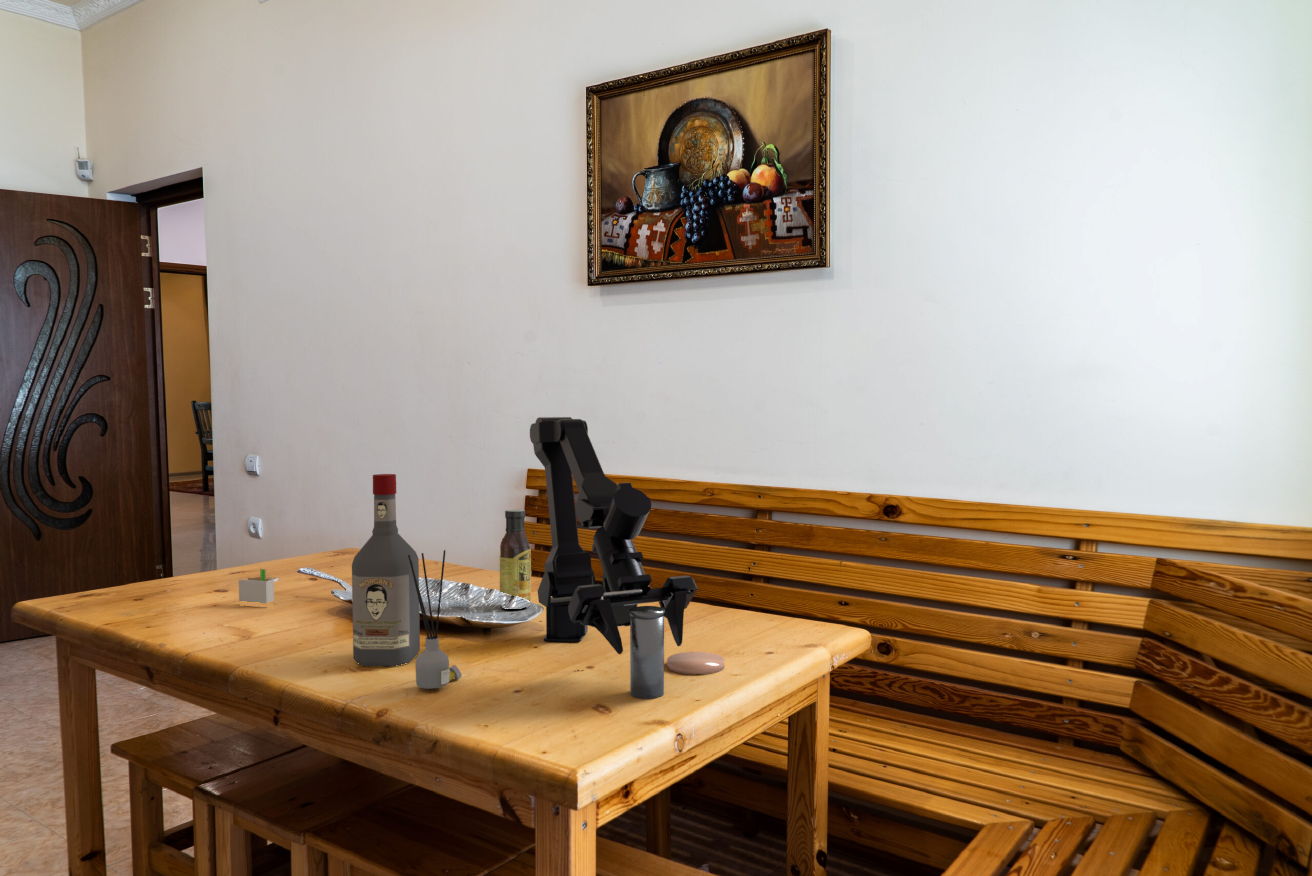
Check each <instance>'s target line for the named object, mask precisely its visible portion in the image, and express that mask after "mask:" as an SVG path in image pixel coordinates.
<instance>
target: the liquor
mask: <svg viewBox="0 0 1312 876" xmlns="http://www.w3.org/2000/svg"><path fill="white" fill-rule="evenodd" d="M396 494H397V474H395V473H380V474H376V473H375V474H372V495H373V529H372V535H371V536H370V538H368V539H367V541H366V542H365V543H364V545H363V546H362V548H360V549H359V551H358V552H357V553H356V554H355V556H354V558H353V560H352V563H351V589H352V591H351V594H352V597H351V599H352V600H351V601H352V603H351V604H352V605H351V606H352V649H353V650H352V655H353V656H352V657H353V660H354V661H355V663H356V662H357V663H359V664H361V665H363V666H396V665H400V666H402V665H401V664H405V663H408V664H410V663H411V662H410V661H411V660H412V659H413V658H414V657H415V656H416V655H417V656H418V654H419V652H420V650H421V643H420V642H421V637H420V636H421V635H420V634H421V631H420V630H421V629H420V627H421V625H420V623H421V622H420V603H419V599H418V595H417V590H416V586H415V582H414V577H413V573H412V569H411V565H410V561H409V558H408V555H410V558H411V560H412V564H413V569H414V572H415V576H416V579H417V583H418V587H419V588H420V563H419V557H418V554H417V551H415V549H414V548H413V547H412V546H411V545H410V544H409V543H408V542H407V541H406V540H405V539H404V538H403V537H402V536H401V534H400V533H399V528H398V526H397V510H396V509H397V507H396V504H397V503H396ZM417 656H416V657H417ZM416 657H415V658H416ZM415 658H414V659H415ZM414 659H413V660H414ZM413 660H412V661H413ZM357 663H356V664H357ZM359 664H358V665H359ZM361 665H360V666H361ZM405 665H406V664H405ZM363 666H362V667H363ZM396 667H397V666H396Z"/></svg>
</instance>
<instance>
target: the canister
mask: <svg viewBox="0 0 1312 876" xmlns="http://www.w3.org/2000/svg"><path fill="white" fill-rule="evenodd" d="M664 615H665V609H664V608H661V607H660V606H658V605H656V606H655V605H640V606H639V605H637V607H633V608H631V609H630V626H629V631H630V632H629V634H630V635H629V636H630V637H629V640H630V641H629V642H630V643H629V645H630V647H629V648H630V649H629V650H630V651H629V652H630V654H629V655H630V659H629V661H630V662H629V667H630V669H629V672H630V673H629V675H630V676H629V679H630V680H629V681H630V687H629V688H630V691H629V692H630V693H629V694H630V696H632V697H633V698H636V699H639V700H640V699H642V700H651V699H653V700H654V699H659V698H661V697H663V696H664V695H665V617H664ZM658 697H659V698H658Z"/></svg>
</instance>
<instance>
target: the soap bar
mask: <svg viewBox="0 0 1312 876" xmlns="http://www.w3.org/2000/svg"><path fill="white" fill-rule="evenodd" d="M666 667H667V669H669V670H670V671H672V672H675V673H678V674H684V675H693V676H694V675H696V674H700V675H710V674H714V673H718V672H721V671H722V670H724V668H725V658H724V657H723V656H721V655H720V654H716V653H712V652H706V651H705V652H703V651H685V652H684V651H683V652H678V653H674V654H672V655H669V656H668V657H667V658H666Z"/></svg>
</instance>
